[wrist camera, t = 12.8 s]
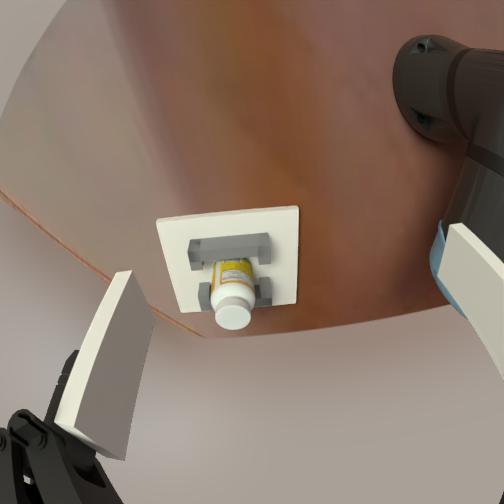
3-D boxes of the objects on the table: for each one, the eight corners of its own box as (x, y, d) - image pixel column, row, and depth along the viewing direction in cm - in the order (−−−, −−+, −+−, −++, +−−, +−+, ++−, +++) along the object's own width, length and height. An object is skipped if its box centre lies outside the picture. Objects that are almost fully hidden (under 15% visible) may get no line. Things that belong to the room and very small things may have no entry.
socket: (297, 205, 36) (303, 219, 33) (294, 298, 45) (299, 316, 42) (157, 218, 36) (150, 234, 32) (182, 308, 45) (179, 326, 41)
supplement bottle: (233, 243, 37) (234, 292, 29) (260, 267, 40) (267, 318, 32) (204, 266, 39) (199, 317, 31) (231, 288, 42) (232, 339, 34)
